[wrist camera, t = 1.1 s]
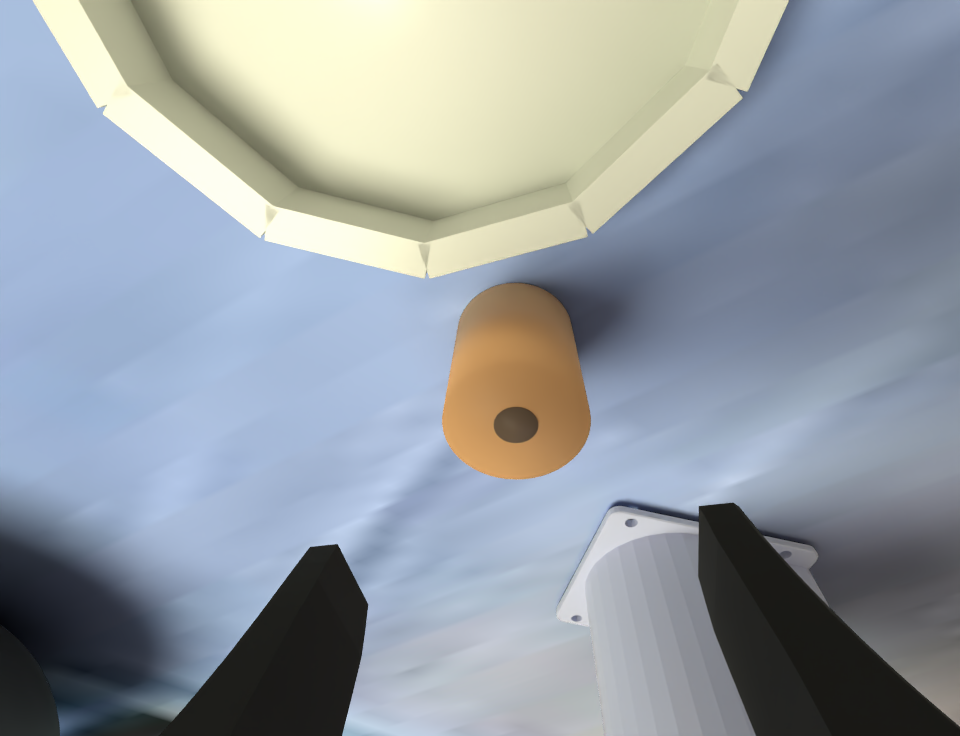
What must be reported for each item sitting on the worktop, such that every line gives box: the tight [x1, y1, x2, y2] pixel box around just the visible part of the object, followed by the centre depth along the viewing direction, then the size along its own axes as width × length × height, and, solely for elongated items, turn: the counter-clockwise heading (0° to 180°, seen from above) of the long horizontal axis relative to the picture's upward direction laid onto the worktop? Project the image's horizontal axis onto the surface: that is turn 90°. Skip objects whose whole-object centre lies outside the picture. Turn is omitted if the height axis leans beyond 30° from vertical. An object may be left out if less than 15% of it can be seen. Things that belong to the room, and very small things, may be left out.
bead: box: [442, 283, 591, 479], centre depth 17 cm, size 4×4×5 cm
